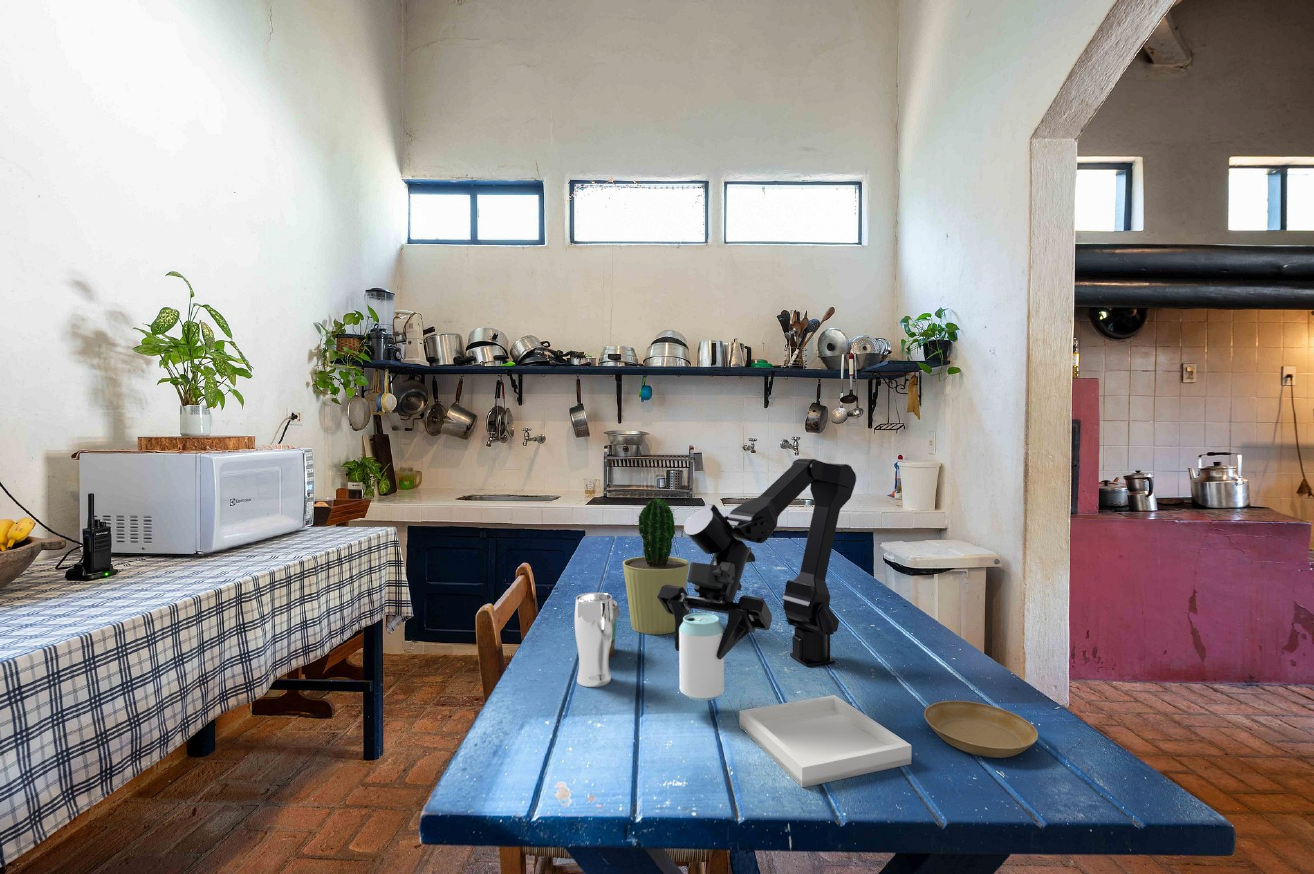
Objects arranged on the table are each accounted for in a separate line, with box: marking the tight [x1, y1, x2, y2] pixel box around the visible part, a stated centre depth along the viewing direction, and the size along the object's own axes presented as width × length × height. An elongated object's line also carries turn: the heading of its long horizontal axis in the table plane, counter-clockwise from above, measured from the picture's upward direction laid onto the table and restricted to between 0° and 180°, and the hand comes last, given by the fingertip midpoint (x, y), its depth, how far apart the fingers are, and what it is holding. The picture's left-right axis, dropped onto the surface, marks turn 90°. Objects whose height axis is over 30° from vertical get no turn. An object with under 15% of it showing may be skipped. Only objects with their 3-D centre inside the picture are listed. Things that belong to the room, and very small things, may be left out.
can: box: [678, 612, 725, 702], centre depth 98 cm, size 7×7×12 cm
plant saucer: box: [923, 700, 1039, 759], centre depth 90 cm, size 15×15×3 cm
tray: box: [738, 694, 912, 788], centre depth 88 cm, size 17×17×2 cm
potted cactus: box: [622, 497, 690, 635], centre depth 142 cm, size 15×15×30 cm
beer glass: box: [574, 592, 614, 688], centre depth 111 cm, size 7×7×15 cm
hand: (697, 654), depth 97 cm, fingers closed on can, 7 cm apart
